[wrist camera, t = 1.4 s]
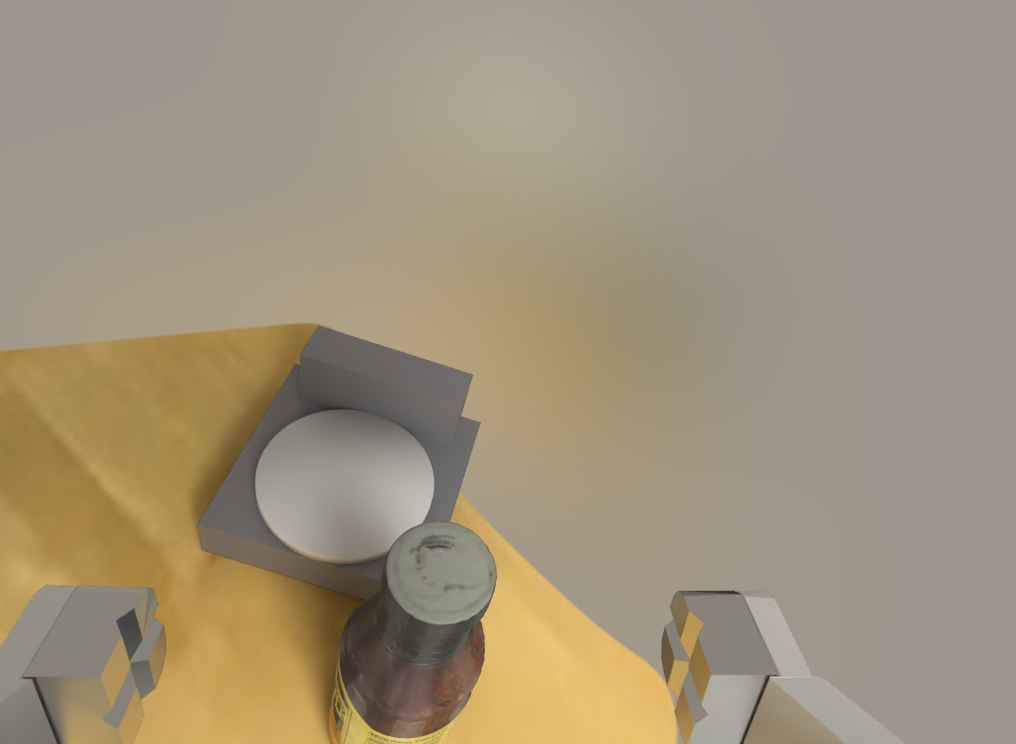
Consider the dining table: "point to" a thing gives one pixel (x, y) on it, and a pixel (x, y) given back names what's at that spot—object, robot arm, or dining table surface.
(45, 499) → the dining table surface
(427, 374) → the kitchen scale
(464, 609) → the sauce bottle
